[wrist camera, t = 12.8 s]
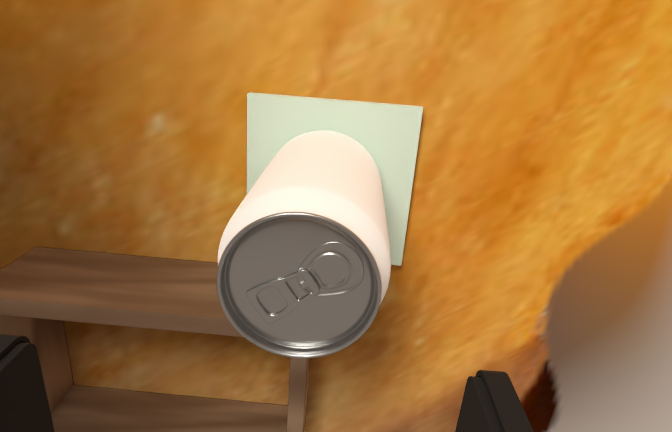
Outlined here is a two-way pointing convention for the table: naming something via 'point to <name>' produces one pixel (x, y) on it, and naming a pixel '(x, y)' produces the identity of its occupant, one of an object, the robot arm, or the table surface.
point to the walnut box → (133, 311)
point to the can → (307, 249)
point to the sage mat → (354, 121)
